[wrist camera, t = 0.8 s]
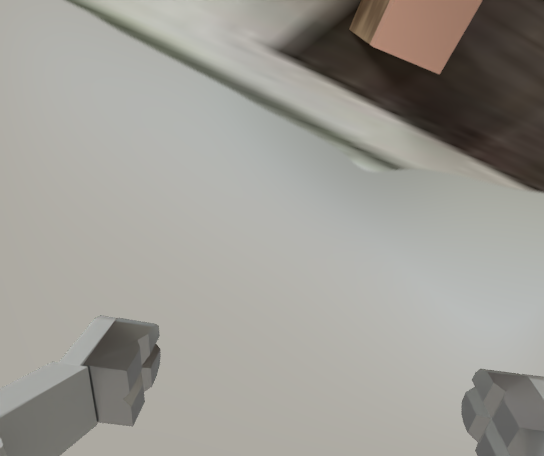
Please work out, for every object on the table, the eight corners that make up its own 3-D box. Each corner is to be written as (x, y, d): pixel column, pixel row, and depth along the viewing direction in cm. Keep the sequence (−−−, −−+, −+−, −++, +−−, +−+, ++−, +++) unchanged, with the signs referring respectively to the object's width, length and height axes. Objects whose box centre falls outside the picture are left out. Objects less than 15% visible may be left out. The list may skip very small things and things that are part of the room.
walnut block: (375, -34, 37) (414, -44, 25) (426, -11, 38) (487, -9, 26) (348, 29, 40) (373, 47, 28) (397, 49, 41) (439, 74, 29)
